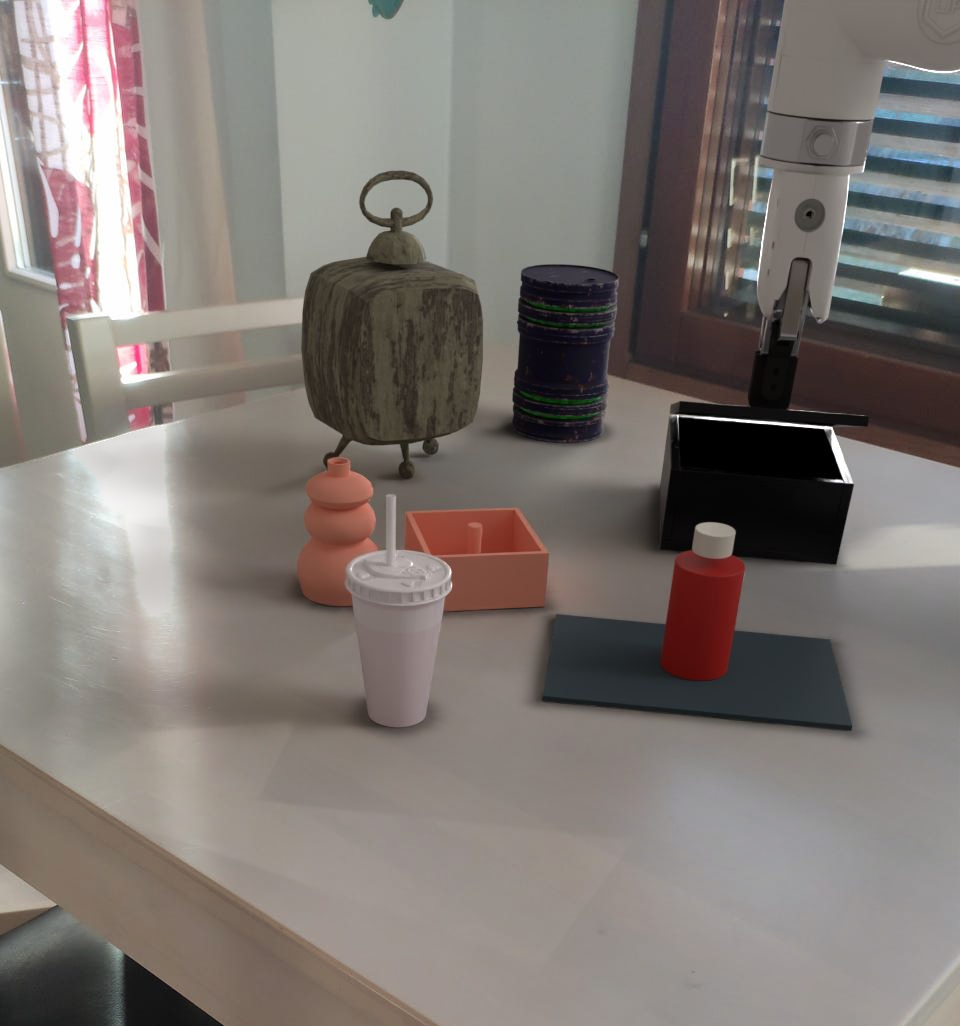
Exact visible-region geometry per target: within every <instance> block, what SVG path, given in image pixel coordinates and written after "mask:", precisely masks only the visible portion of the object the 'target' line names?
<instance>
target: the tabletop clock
mask: <svg viewBox="0 0 960 1026" xmlns="http://www.w3.org/2000/svg"><path fill="white" fill-rule="evenodd" d="M398 180H399V181H400V180H401V181H402V180H404V181H411V182H413V183H416V184H418V185H419V186H420V187H421V188H422V190H424V192H425V194H426V198H427V202H426V205H425V207H424V208H423V209H422V210H421V211H419V212H418V213H416V214H413V215H411V216H406V217H403V216H404V215H403V214H404V212H403V210H402V209H401V208H400V207H394V208H392V209H391V210H390V217H389V218H387V217H386V218H385V217H384V218H383V217H380V216H376V215H374V214H372V213H371V212H370V211H368V210H367V208H366V198H367V196H368V194H369V192H370V191H371V190H372V189H374V187H375V186H377V185H379V184H381V183H384V182H388V181H398ZM433 202H434V194H433V191H432V188H431V186H430V184H429V183H428V181H427V180H426V179H425V178H424V177H422V176H421V175H419V174H417V173H415V172H413V171H407V170H402V169H401V170H388V171H383V172H379V173H377V174H376V175H374V176H373V177H371V178H370V179H369V180H368V181H367V182H366V183H365V185H364V186H363V187H362V189H361V192H360V194H359V199H358V204H359V209H360V211H361V214H362V216H364V217H365V218H366V220H367V221H368V222H369V223H371V224H374V225H376V226H379V227H383V228H387V229H388V228H389V230H385V231H382V232H379V233H378V234H377V235H376V237H374V238H373V240H372V241H371V243H370V245H369V247H368V250H367V253H366V255H365V256H361V257H354V258H348V259H342V260H337V261H332V262H329V263H327V264H326V263H325V264H323V265H322V266H320V267H318V268H317V269H315V270H313V271H311V272H310V274H309V278H308V281H307V283H306V287H305V290H304V296H303V303H302V310H301V311H302V312H301V313H302V317H301V346H300V347H301V361H302V370H303V380H304V388H305V393H306V398H307V402H308V406H309V407H310V409H311V412H312V415H313V417H314V419H316V420H318V421H319V422H321V423H323V424H324V425H326V426H328V427H329V428H331V429H333V430H334V431H336V432H337V433H338V434H340V435H342V436H341V438H340V439H339V442H338V444H337V446H336V448H335V450H334V451H328V452H327V453H325V454H324V456H323V459H322V463H323V465H324V467H325V468H326V469H328V464H327V460H328V459H330V458H335V457H340V455H341V454H342V453H343V451H344V450H345V449H346V448H347V446H349V444H350V443H351V442H352V441H353V442H356V443H359V444H362V445H366V446H371V447H372V446H373V447H374V446H375V447H376V446H393V445H395V446H396V445H399V448H400V451H401V455H402V461H401V462H400V463H399V464H398V475H400V477H401V478H403V479H408V480H409V479H411V478H413V477H414V476H415V474H416V471H417V467H416V465H415V463H414V462H413V461H411V460H410V445H409V444H416V443H420V442H422V448H421V449H422V451H423V452H424V453H425V454H426V455H428V456H433V455H435V454H437V453H438V451H439V448H440V443H439V442H438V440H437V438H441V437H446V436H449V435H452V434H453V433H456V432H458V431H460V430H462V429H464V428H466V427H467V426H469V425H470V424H472V423H473V422H474V419H475V416H476V413H477V411H478V406H479V402H480V395H481V385H482V374H483V373H482V372H483V362H484V318H483V308H482V302H481V298H480V297H481V296H480V294H479V291H478V287H477V283H476V281H475V279H473V278H471V277H468V276H466V275H464V274H462V273H460V272H457V271H455V270H451V269H449V268H446V267H444V266H442V265H438V264H436V263H433V262H430V261H427V260H426V259H427V255H426V252H425V248H424V246H423V244H422V242H421V241H420V239H418V237H417V236H416V235H414V234H413V233H410V232H408V231H405V230H404V229H403V228H406V227H409V226H413V225H415V224H417V223H419V222H421V221H422V220H424V219H425V218H426V216H428V214H429V213H430V211H431V209H432V207H433Z"/></svg>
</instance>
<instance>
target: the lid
mask: <svg viewBox="0 0 960 1026" xmlns="http://www.w3.org/2000/svg"><path fill="white" fill-rule="evenodd" d="M669 407H670V408H669V415H670V414H671V415H678V416H679V415H683V416H695V417H708V418H720V419H733V420H745V421H757V422H770V423H782V424H794V425H807V426H819V427H832V428H868V427H869V423H870V422H869V421H870V416H869V415H862V414H850V413H849V414H847V413H835V412H824V411H813V410H800V409H799V410H798V409H775V408H762V407H751V406H750V405H749V406H747V405H737V404H733V405H732V404H722V403H711V402H710V403H709V402H698V401H688V400H687V401H686V400H679V401H677V402H674V403H671V404H670V406H669Z"/></svg>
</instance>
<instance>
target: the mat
mask: <svg viewBox="0 0 960 1026" xmlns="http://www.w3.org/2000/svg"><path fill="white" fill-rule="evenodd" d="M554 617H555V618H554V624H553V630H552V635H551V641H550V648H549V654H548V661H547V666H546V672H545V679H544V685H543V691H542V699H541V701H542V702H551V703H560V704H561V703H562V704H572V705H582V706H592V707H602V708H612V709H613V708H614V709H620V710H621V709H622V710H623V709H624V710H633V711H642V712H655V713H662V714H663V713H664V714H674V715H684V716H695V717H705V718H713V719H714V718H715V719H726V720H734V721H735V720H737V721H746V722H747V721H748V722H755V723H756V722H757V723H765V724H766V723H767V724H778V725H787V726H797V727H808V728H809V727H810V728H816V729H817V728H818V729H826V730H827V729H829V730H837V731H838V730H841V731H848V732H849V731H850V732H851V731H852V730H853V722H852V719H851V718H852V717H851V714H850V711H849V707H848V702H847V699H846V694H845V691H844V687H843V683H842V679H841V675H840V672H839V671H840V670H839V668H838V664H837V659H836V656H835V652H834V650H833V645H832V641H831V639H830V638H821V637H820V638H819V637H808V636H801V635H800V636H798V635H787V634H777V633H776V634H775V633H767V632H766V633H765V632H755V631H744V630H735V629H734V635H733V641H732V646H731V652H730V657H729V663H728V669H727V672H726V673H725V674H724V675H723V676H722V677H720V678H717V679H714V680H708V681H695V680H688V679H683V678H680V677H677V676H674V675H672V674H670V673H668V672H667V671H666V670H664V669H663V667H662V666H661V662H660V661H661V654H662V647H663V640H664V633H665V626H666V623H658V622H646V621H637V620H636V621H635V620H624V619H614V618H605V617H603V618H602V617H592V616H582V615H572V614H571V615H570V614H562V613H561V614H560V613H556V614H555V616H554Z"/></svg>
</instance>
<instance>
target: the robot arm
mask: <svg viewBox="0 0 960 1026" xmlns="http://www.w3.org/2000/svg"><path fill="white" fill-rule="evenodd" d="M886 62H889V63H894V64H895V63H896V64H899V65H903V66H908V67H911V68H915V69H919V70H922V71H926V72H932V73H941V74H945V73H947V74H948V73H955V72H960V0H784V1H783V8H782V14H781V20H780V26H779V33H778V39H777V46H776V51H775V57H774V64H773V71H772V76H771V82H770V90H769V93H768V94H769V96H768V99H767V100H768V101H767V108H766V110H767V111H766V113H765V119H764V126H763V132H762V139H761V145H760V150H759V151H760V152H759V158H758V164H759V165H760V166H764V167H765V168H770V169H773V171H772V177H771V182H770V189H769V193H768V194H769V195H768V201H767V208H766V213H765V219H764V226H763V232H762V239H761V247H760V254H759V262H758V272H757V282H756V298H757V302H758V305H759V309H760V311H761V314H762V320H761V328H760V333H759V338H758V347H757V348H758V349H755V351H754V358H753V363H752V367H751V368H752V369H751V375H750V379H749V387H748V392H747V402H748V405H749V406H750V407H762V408H775V409H787V410H789V408H790V404H791V400H792V393H793V387H794V382H795V378H796V372H797V368H798V363H799V362H798V361H799V356H798V355H799V350H800V345H801V339H802V335H803V332H804V331H803V330H804V325H805V322H806V321H805V320H806V317H807V311H808V309H809V311H810V313H811V316H812V318H814V319H815V321H816V323H817V324H824V323H825V322H826V321H827V320H828V319H829V315H830V310H831V306H832V305H831V304H832V299H833V298H832V297H833V291H834V286H835V281H836V273H837V268H838V262H839V256H840V250H841V243H842V238H843V233H844V227H845V219H846V213H847V206H848V205H847V203H848V195H849V186H850V185H849V184H850V176H853V175H860V174H863V173H864V171H865V166H866V160H867V155H868V151H869V145H870V141H871V137H872V132H873V127H874V122H875V118H876V117H875V116H876V112H877V108H878V102H879V97H880V93H881V87H882V82H883V78H884V73H885V67H886Z"/></svg>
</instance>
